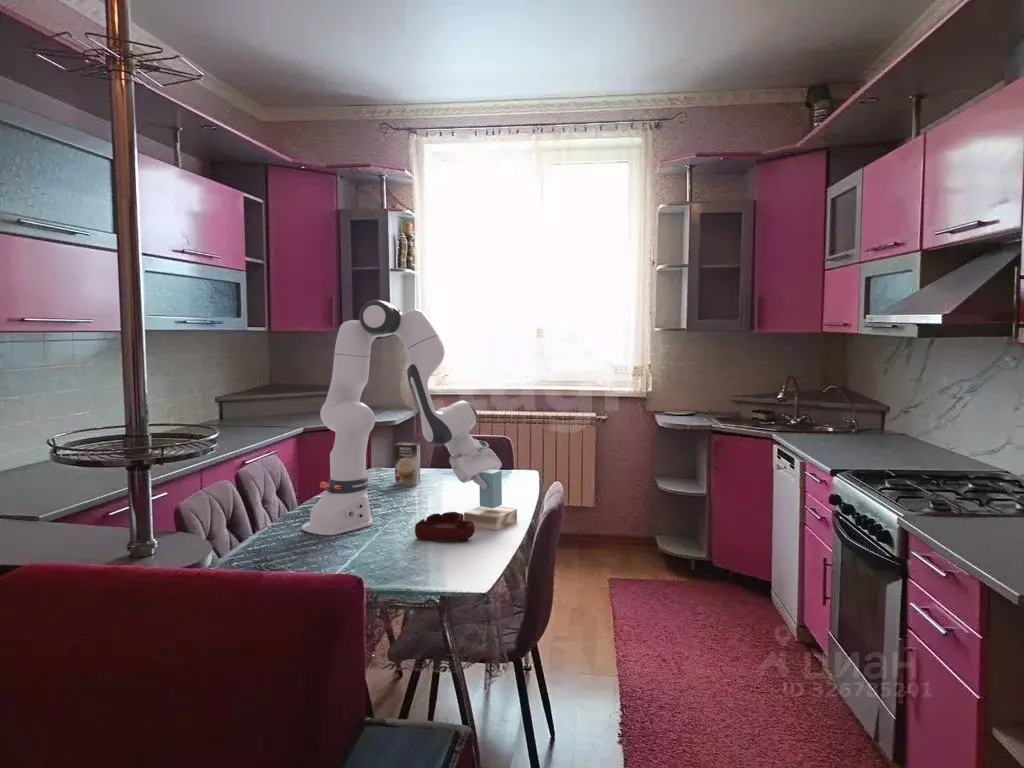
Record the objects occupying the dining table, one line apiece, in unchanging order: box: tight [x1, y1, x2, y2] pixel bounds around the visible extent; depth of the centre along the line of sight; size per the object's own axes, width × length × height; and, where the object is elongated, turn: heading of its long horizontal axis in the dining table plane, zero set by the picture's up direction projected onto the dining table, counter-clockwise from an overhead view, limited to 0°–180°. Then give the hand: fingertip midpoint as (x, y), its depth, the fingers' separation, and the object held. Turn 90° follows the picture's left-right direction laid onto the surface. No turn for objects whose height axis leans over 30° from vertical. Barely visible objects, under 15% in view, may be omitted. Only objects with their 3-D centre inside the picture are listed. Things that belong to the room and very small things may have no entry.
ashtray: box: [414, 511, 476, 543], centre depth 203 cm, size 18×16×5 cm
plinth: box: [463, 505, 518, 532], centre depth 216 cm, size 12×12×4 cm
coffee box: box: [394, 441, 421, 487], centre depth 271 cm, size 9×6×16 cm
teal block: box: [479, 469, 503, 508], centre depth 216 cm, size 5×5×11 cm
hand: (492, 485), depth 215 cm, fingers closed on teal block, 5 cm apart
